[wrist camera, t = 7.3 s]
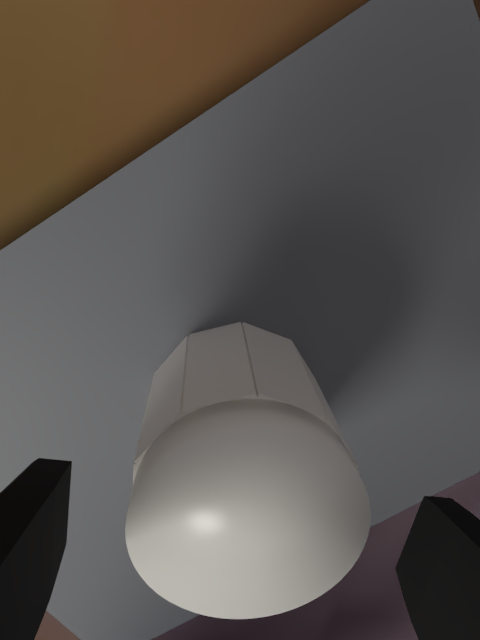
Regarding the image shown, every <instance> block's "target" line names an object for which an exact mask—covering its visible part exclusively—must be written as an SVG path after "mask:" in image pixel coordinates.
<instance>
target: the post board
mask: <svg viewBox="0 0 480 640" xmlns="http://www.w3.org/2000/svg"><path fill="white" fill-rule="evenodd" d="M237 322H241V324H242V323H243V322H245V323H247V324H250V325H253V326H255V327H258V328H261V329H263V330H266V331H269V332H271V333H274V334H277V335H280V336H282V337H285V338H288V339H290V340H291V341H293V343H294V345H295V346H296V348H297V349H298V351H299V353H300V354H301V356H302V358H303V359H304V361H305V363H306V364H307V366H308V367H309V369H310V371H311V372H312V374H313V376H314V377H315V379H316V381H317V383H318V385H319V387H320V389H321V391H322V393H323V395H324V397H325V399H326V401H327V403H328V405H329V407H330V409H331V411H332V413H333V415H334V417H335V420H336V422H337V424H338V426H339V428H340V430H341V432H342V434H343V436H344V438H345V440H346V442H347V444H348V446H349V448H350V450H351V452H352V454H353V456H354V458H355V460H356V462H357V464H358V466H359V475H360V477H361V479H362V481H363V483H364V485H365V488H366V491H367V494H368V497H369V501H370V508H371V524H370V527H372V526H374V525H376V524H378V523H380V522H382V521H384V520H386V519H388V518H390V517H392V516H394V515H396V514H398V513H400V512H402V511H404V510H406V509H408V508H410V507H411V506H413V505H415V504H417V503H419V502H421V501H422V500H423V497H424V496H433V495H435V494H437V493H439V492H441V491H443V490H445V489H447V488H449V487H451V486H453V485H455V484H456V483H458V482H460V481H462V480H464V479H466V478H468V477H470V476H472V475H474V474H476V473H478V472H480V20H479V17H478V14H477V11H476V8H475V5H474V2H473V0H370V1H369V2H367V3H366V4H364V5H363V6H361V7H360V8H358V9H357V10H355V11H354V12H352V13H351V14H349V15H348V16H346V17H345V18H343V19H342V20H341V21H339V22H338V23H336V24H335V25H333V26H332V27H330V28H329V29H327V30H326V31H324V32H323V33H321V34H320V35H318V36H317V37H315V38H314V39H312V40H311V41H309V42H308V43H307V44H305V45H304V46H302V47H301V48H299V49H298V50H296V51H295V52H293V53H292V54H290V55H289V56H287V57H286V58H284V59H283V60H281V61H280V62H278V63H277V64H275V65H274V66H272V67H271V68H270V69H268V70H267V71H265V72H264V73H262V74H261V75H259V76H258V77H256V78H255V79H253V80H252V81H250V82H249V83H247V84H246V85H244V86H243V87H241V88H240V89H238V90H237V91H235V92H234V93H233V94H231V95H230V96H228V97H227V98H225V99H224V100H222V101H221V102H219V103H218V104H216V105H215V106H213V107H212V108H210V109H209V110H207V111H206V112H204V113H203V114H201V115H200V116H199V117H197V118H196V119H194V120H193V121H191V122H190V123H188V124H187V125H185V126H184V127H182V128H181V129H179V130H178V131H176V132H175V133H173V134H172V135H170V136H169V137H167V138H166V139H164V140H163V141H162V142H160V143H159V144H157V145H156V146H154V147H153V148H151V149H150V150H148V151H147V152H145V153H144V154H142V155H141V156H139V157H138V158H136V159H135V160H133V161H132V162H130V163H129V164H127V165H126V166H125V167H123V168H122V169H120V170H119V171H117V172H116V173H114V174H113V175H111V176H110V177H108V178H107V179H105V180H104V181H102V182H101V183H99V184H98V185H96V186H95V187H93V188H92V189H91V190H89V191H88V192H86V193H85V194H83V195H82V196H80V197H79V198H77V199H76V200H74V201H73V202H71V203H70V204H68V205H67V206H65V207H64V208H62V209H61V210H59V211H58V212H56V213H55V214H54V215H52V216H51V217H49V218H48V219H46V220H45V221H43V222H42V223H40V224H39V225H37V226H36V227H34V228H33V229H31V230H30V231H28V232H27V233H25V234H24V235H22V236H21V237H19V238H18V239H17V240H15V241H14V242H12V243H11V244H9V245H8V246H6V247H5V248H3V249H2V250H0V492H1V491H3V490H4V489H5V488H6V487H7V486H8V485H9V484H10V483H11V482H12V481H13V480H14V479H15V478H16V477H17V476H18V475H20V474H21V473H22V472H23V471H24V470H25V469H26V468H27V467H28V466H29V465H30V464H31V463H32V462H33V461H35V460H36V459H38V458H45V459H55V460H65V461H72V468H71V483H70V498H69V513H68V528H67V543H66V547H65V551H64V554H63V558H62V561H61V564H60V568H59V571H58V575H57V578H56V581H55V585H54V588H53V591H52V595H51V598H50V601H49V604H48V606H47V609H46V610H47V611H48V612H49V613H50V614H51V615H52V616H54V617H55V618H56V619H57V620H58V621H59V622H61V623H62V624H63V625H64V626H65V627H67V628H68V629H69V630H70V631H71V632H72V633H74V634H75V635H76V636H77V637H78V638H79V639H81V640H151V639H153V638H155V637H157V636H159V635H161V634H163V633H165V632H167V631H169V630H171V629H173V628H175V627H177V626H179V625H181V624H183V623H185V622H187V621H189V620H191V619H192V618H194V617H196V616H198V615H200V614H197V613H194V612H191V611H188V610H186V609H183V608H180V607H179V606H177V605H175V604H173V603H171V602H169V601H167V600H166V599H164V598H163V597H161V596H160V595H158V594H157V593H156V592H155V591H154V590H153V589H152V588H150V587H149V586H148V585H147V584H146V582H145V581H144V580H143V579H142V578H141V577H140V575H139V574H138V572H137V570H136V569H135V567H134V565H133V563H132V561H131V558H130V556H129V554H128V549H127V545H126V538H125V525H126V517H127V512H128V507H129V502H130V498H131V493H132V488H133V463H134V458H135V454H136V450H137V445H138V441H139V437H140V432H141V428H142V423H143V419H144V415H145V410H146V406H147V402H148V397H149V393H150V389H151V384H152V380H153V376H154V372H155V371H156V370H157V369H158V368H159V367H160V366H161V365H162V363H163V362H164V361H165V360H166V359H167V358H168V357H169V355H170V354H171V353H172V352H173V351H174V350H175V349H176V347H177V346H178V345H179V344H180V343H181V342H182V341H183V339H184V338H185V337H186V336H189V334H192V333H196V332H200V331H204V330H209V329H213V328H217V327H221V326H225V325H229V324H233V323H237Z"/></svg>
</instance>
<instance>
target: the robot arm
mask: <svg viewBox="0 0 480 640" xmlns="http://www.w3.org/2000/svg"><path fill="white" fill-rule="evenodd" d="M71 468H72V461H65V460H55V459H45V458H38V459H36V460H35V461H33V462H32V463H31V464H30V465H29V466H28V467H27V468H26V469H25V470H24V471H23V472H22V473H21V474H20V475H18V476H17V477H16V478H15V479H14V480H13V481H12V482H11V483H10V484H9V485H8V486H7V487H6V488H5V489H4V490H3V491H1V492H0V640H34V638H35V636H36V634H37V631H38V629H39V626H40V624H41V621H42V619H43V616H44V614H45V611H46V609H47V606H48V604H49V601H50V598H51V595H52V591H53V588H54V585H55V581H56V578H57V575H58V571H59V568H60V564H61V561H62V558H63V554H64V551H65V547H66V543H67V528H68V513H69V498H70V483H71ZM396 572H397V575H398V579H399V582H400V586H401V590H402V593H403V597H404V600H405V603H406V606H407V609H408V612H409V616H410V619H411V622H412V624H413V627H414V629H415V632H416V634H417V636H418V639H419V640H480V520H479V519H478V518H477V517H475V516H474V515H473V514H472V513H470V512H469V511H468V510H466V509H465V508H464V507H462V506H461V505H460V504H458V503H457V502H455V501H454V500H453V499H451V498H442V497H432V496H424V497H423V500H422V502H421V505H420V507H419V510H418V513H417V515H416V518H415V520H414V523H413V525H412V528H411V530H410V533H409V535H408V538H407V540H406V543H405V546H404V548H403V551H402V553H401V556H400V558H399V561H398V563H397V566H396Z"/></svg>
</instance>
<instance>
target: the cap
mask: <svg viewBox="0 0 480 640" xmlns="http://www.w3.org/2000/svg"><path fill="white" fill-rule="evenodd" d="M370 524H371V508H370V501H369V497H368V494H367V491H366V488H365V485H364V483H363V481H362V479H361V477H360V475H359V466H358V464H357V462H356V460H355V458H354V456H353V454H352V452H351V450H350V448H349V446H348V444H347V442H346V440H345V438H344V436H343V434H342V432H341V430H340V428H339V426H338V424H337V422H336V420H335V417H334V415H333V413H332V411H331V409H330V407H329V405H328V403H327V401H326V399H325V397H324V395H323V393H322V391H321V389H320V387H319V385H318V383H317V381H316V379H315V377H314V376H313V374H312V372H311V371H310V369H309V367H308V366H307V364H306V363H305V361H304V359H303V358H302V356H301V354H300V353H299V351H298V349H297V348H296V346H295V345H294V343H293V341H291V340H290V339H288V338H285V337H282V336H280V335H277V334H274V333H271V332H269V331H266V330H263V329H261V328H258V327H255V326H253V325H250V324H247V323H245V322H243V323H242V324H241V322H237V323H233V324H229V325H225V326H221V327H217V328H213V329H209V330H204V331H200V332H196V333H192V334H189V336H186V337H185V338H184V339H183V341H182V342H181V343H180V344H179V345H178V346H177V347H176V349H175V350H174V351H173V352H172V353H171V354H170V355H169V357H168V358H167V359H166V360H165V361H164V362H163V363H162V365H161V366H160V367H159V368H158V369H157V370H156V371H155V372H154V376H153V380H152V384H151V389H150V393H149V397H148V402H147V406H146V410H145V415H144V419H143V423H142V428H141V432H140V437H139V441H138V445H137V450H136V454H135V458H134V463H133V488H132V493H131V498H130V502H129V507H128V512H127V517H126V525H125V538H126V545H127V549H128V554H129V556H130V558H131V561H132V563H133V565H134V567H135V569H136V570H137V572H138V574H139V575H140V577H141V578H142V579H143V580H144V581H145V582H146V584H147V585H148V586H149V587H150V588H152V589H153V590H154V591H155V592H156V593H157V594H158V595H160V596H161V597H163V598H164V599H166V600H167V601H169V602H171V603H173V604H175V605H177V606H179V607H180V608H183V609H186V610H188V611H191V612H194V613H197V614H201V615H205V616H209V617H216V618H223V619H253V618H260V617H267V616H272V615H276V614H280V613H283V612H287V611H290V610H293V609H295V608H298V607H300V606H302V605H305V604H307V603H309V602H311V601H312V600H314V599H316V598H318V597H320V596H321V595H323V594H324V593H325V592H327V591H328V590H330V589H331V588H332V587H333V586H335V585H336V584H337V583H338V582H339V581H340V580H342V578H343V577H344V576H345V575H346V574H347V573H348V572H349V571H350V570H351V568H352V567H353V565H354V564H355V563H356V561H357V560H358V558H359V556H360V554H361V553H362V551H363V549H364V546H365V544H366V541H367V538H368V535H369V529H370Z"/></svg>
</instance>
